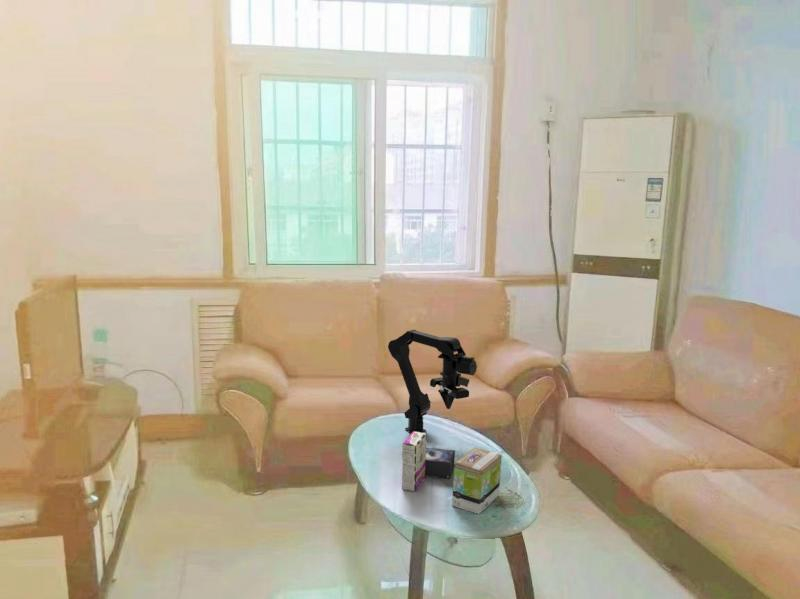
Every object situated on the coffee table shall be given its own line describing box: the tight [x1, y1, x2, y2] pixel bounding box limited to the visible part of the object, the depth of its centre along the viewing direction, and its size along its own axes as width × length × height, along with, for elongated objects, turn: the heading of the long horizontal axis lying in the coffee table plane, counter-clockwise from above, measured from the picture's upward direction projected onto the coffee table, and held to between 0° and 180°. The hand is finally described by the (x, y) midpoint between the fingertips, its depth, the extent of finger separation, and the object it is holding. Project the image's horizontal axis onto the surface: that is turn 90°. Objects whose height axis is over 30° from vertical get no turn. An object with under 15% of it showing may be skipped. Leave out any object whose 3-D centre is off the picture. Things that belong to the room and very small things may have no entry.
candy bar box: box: [401, 431, 427, 493], centre depth 207 cm, size 11×5×16 cm, turn 160°
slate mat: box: [437, 466, 455, 487], centre depth 216 cm, size 12×16×1 cm
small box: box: [425, 447, 456, 479], centre depth 217 cm, size 11×6×10 cm
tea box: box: [451, 446, 503, 515], centre depth 197 cm, size 15×10×15 cm, turn 148°
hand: (448, 408), depth 243 cm, fingers closed
